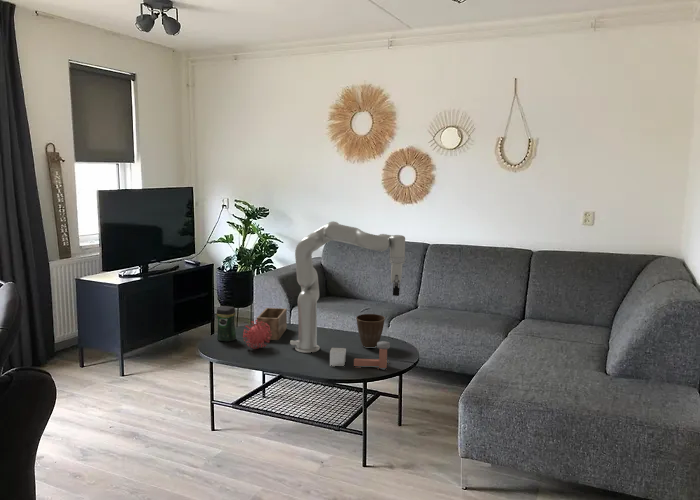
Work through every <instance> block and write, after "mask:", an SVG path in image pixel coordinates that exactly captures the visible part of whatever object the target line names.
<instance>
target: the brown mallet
mask: <svg viewBox="0 0 700 500" xmlns="http://www.w3.org/2000/svg"><path fill="white" fill-rule="evenodd" d="M390 347H391V343H390V342H389V341H385V340H382V341H381V340H380V341H379V342H377V348H376V349H379V352H378V354H379V355H378V356H379V357H378V359H376V358H354V359H353V367H354V366H379V368H387V367H388V366H387V365H388V364H387V360H388V350H389V349H390ZM379 368H378V369H379ZM387 369H388V368H387Z"/></svg>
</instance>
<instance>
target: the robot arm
mask: <svg viewBox="0 0 700 500" xmlns="http://www.w3.org/2000/svg"><path fill="white" fill-rule="evenodd" d="M331 241H336V242H340V243H345V244H348V245H353V246H357V247H360V248H364V249H368V250H371V251H376V252H385V251H387V250H388V249H389V264H391V266H390V283H391V284H392V285H393V287H392V296H394V297H395V296H396V297H398V296H400V286H401V285H400V284H401V281H402V274H403V264H405V263H406V262H405V258H406V257H405V254H406V237H405V236H404V235H401V234H394V235H393V234H387V233H380V234H378V235H377V234H372V233H370V232H369V233H368V232H366V231H363V230H361V229H359V228H357V227H355V226H349V225H345V224H340V223H338V222H337V221H329V222H328V223H326V224H325V225H323V226H321V227H320V228H318V229H316V230H314V231H313V232H311V233H310V234H308V235H307V236H305V237H304V238H302V239H301V240H300V241H299V242H298V243H297V245H296V247H295V251H294V257H295V258H294V260H295V271H296V281H297V283H298V285H299V286H300V292H299V295H298V297H297V318H298V321H297V322H298V323H297V324H298V325H297V326H298V327H297V328H298V331H297V334H298V336H297V337H298V338H297V339H296V340H292V339H291V340H290V342H289V344H290V345H291V346H294V347H295V351H297V352H299V353H305V354H311V352H312V353H316V352H318V351H319V350H320V348H321V347H320V345H318V343H317V340H318V338H317V337H318V336H317V335H318V313H317V311H318V310H317V302H318V300H319V299H320V285H319V275H318V271H317V269H316V268H315V267H314V266H313V265H314V264H313V256H312V255H313V253H314V252H315V251H318V250H319V249H320V248H322V247H323V246H325V245H326V244H328V243H329V242H331Z"/></svg>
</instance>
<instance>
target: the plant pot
mask: <svg viewBox="0 0 700 500" xmlns="http://www.w3.org/2000/svg"><path fill="white" fill-rule="evenodd" d="M385 319H386V317H385V316H383V315H380V314H376V313H375V314H374V313H363V314H359V315H357V316H356V326H357V331H358V335H359V339H360V342H361V346H362V345H363V346H365V347H375V346H377V342H380V341H381V337H382V334H383V330H384V326H385ZM363 346H362V347H363Z"/></svg>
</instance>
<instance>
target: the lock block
mask: <svg viewBox="0 0 700 500" xmlns="http://www.w3.org/2000/svg"><path fill="white" fill-rule="evenodd" d="M346 353H347V348H346V347H345V348H344V347H331V349H330V351H329V367H335V366H344V365H345V362H346V361H347V359H346V358H347V356H346V355H347V354H346ZM331 365H332V366H331ZM344 367H345V366H344Z"/></svg>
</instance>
